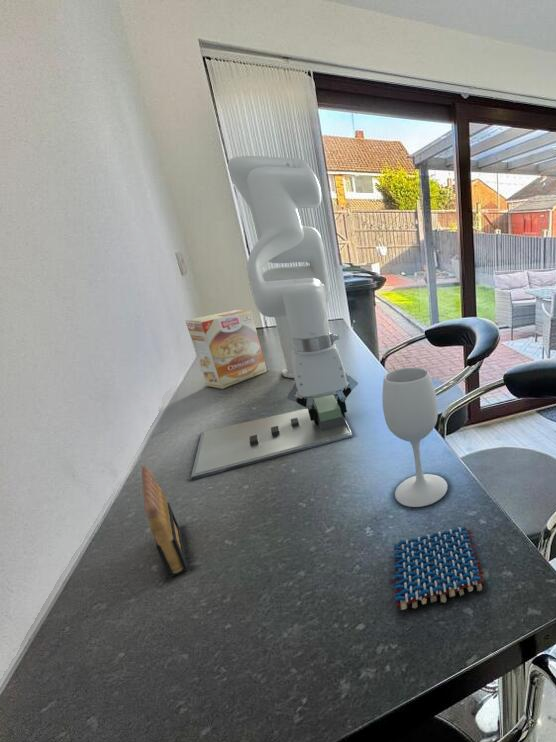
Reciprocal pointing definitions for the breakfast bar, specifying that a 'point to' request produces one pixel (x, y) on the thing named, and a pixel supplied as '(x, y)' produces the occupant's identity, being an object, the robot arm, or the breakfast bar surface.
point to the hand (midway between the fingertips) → (329, 418)
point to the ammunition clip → (163, 525)
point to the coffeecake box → (227, 347)
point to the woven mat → (435, 567)
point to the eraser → (328, 412)
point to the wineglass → (413, 429)
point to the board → (260, 441)
